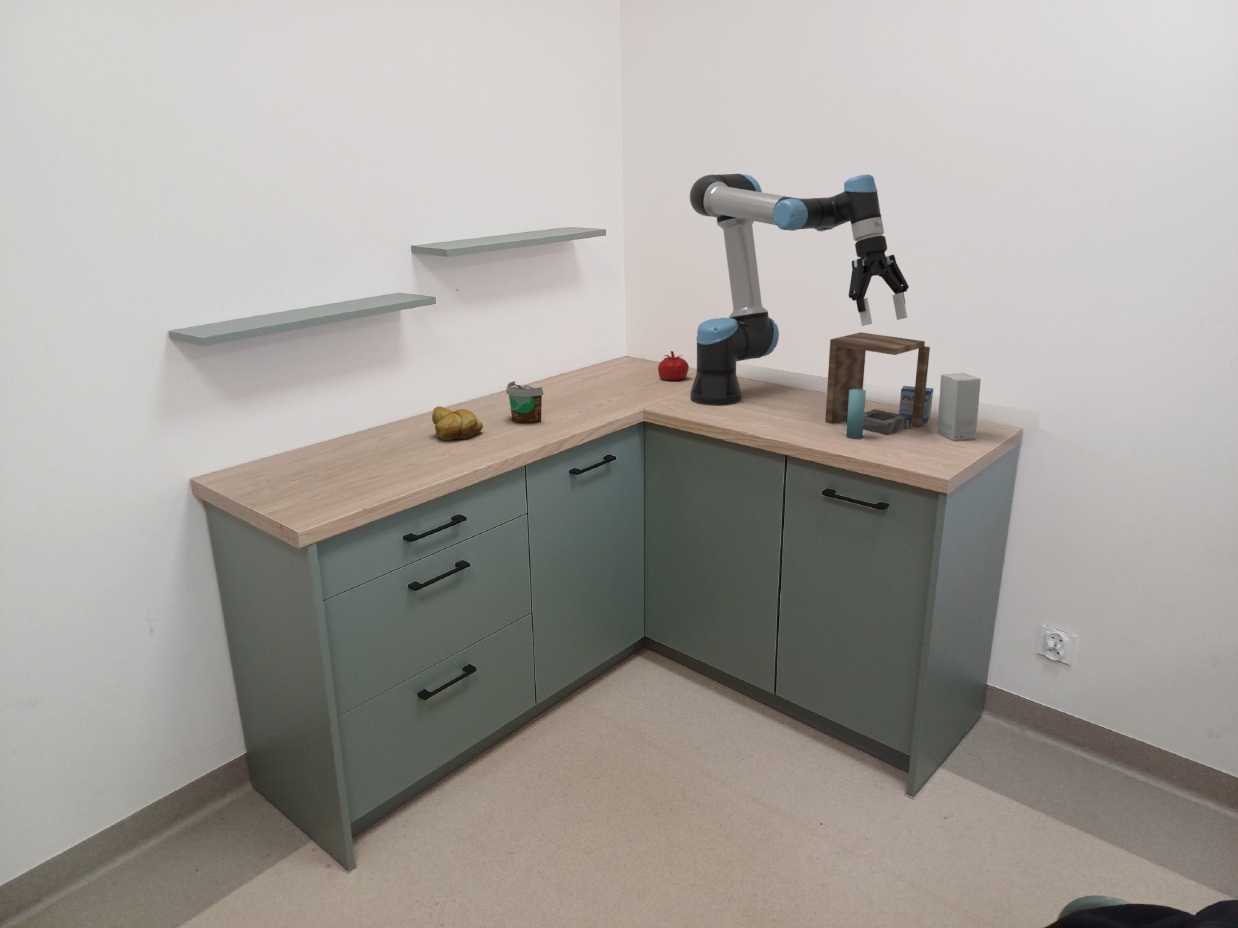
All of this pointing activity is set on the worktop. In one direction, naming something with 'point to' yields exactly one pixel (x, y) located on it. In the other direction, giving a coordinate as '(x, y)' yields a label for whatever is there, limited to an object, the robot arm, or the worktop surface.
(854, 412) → the peg
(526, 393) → the food container
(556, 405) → the worktop surface
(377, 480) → the worktop surface
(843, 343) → the wooden table arch
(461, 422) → the bread roll
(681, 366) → the red tomato
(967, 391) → the skincare box
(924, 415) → the medicine box
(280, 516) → the worktop surface
